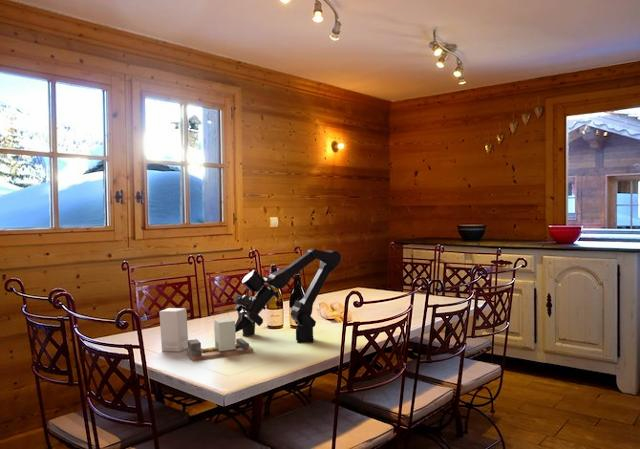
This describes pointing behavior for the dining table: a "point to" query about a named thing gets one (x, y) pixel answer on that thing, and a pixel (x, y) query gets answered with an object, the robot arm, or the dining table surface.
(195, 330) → the dining table surface
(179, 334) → the skincare box
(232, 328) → the tall pale green box
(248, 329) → the drinking cup
